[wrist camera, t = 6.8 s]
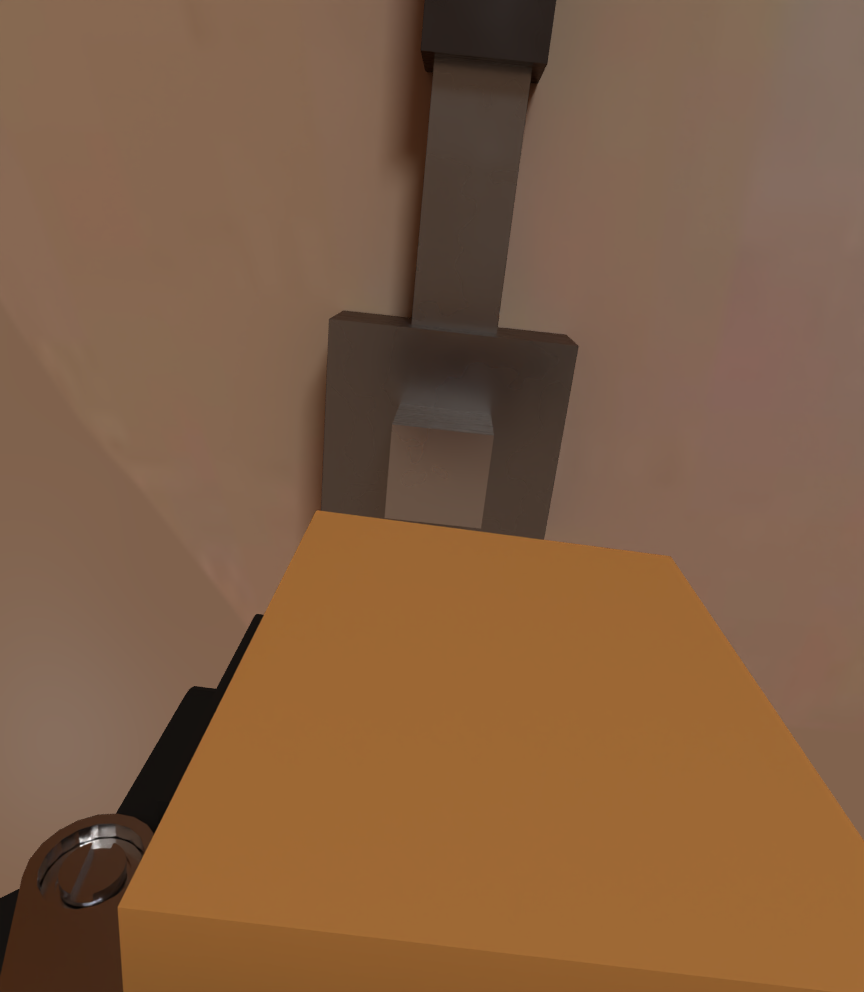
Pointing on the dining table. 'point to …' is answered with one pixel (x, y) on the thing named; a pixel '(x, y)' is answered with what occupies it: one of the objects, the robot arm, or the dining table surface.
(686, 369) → the dining table surface
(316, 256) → the dining table surface
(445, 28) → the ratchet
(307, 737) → the orange cube
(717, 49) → the dining table surface
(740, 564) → the dining table surface
